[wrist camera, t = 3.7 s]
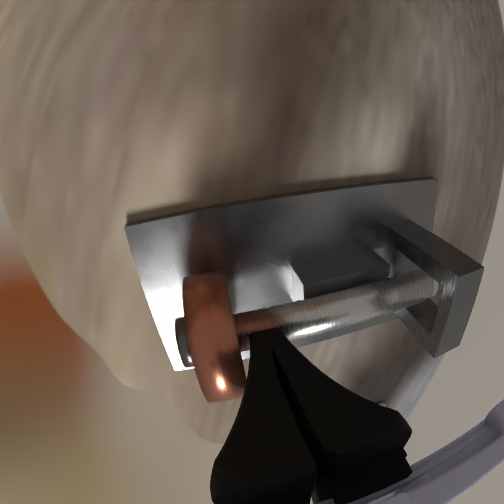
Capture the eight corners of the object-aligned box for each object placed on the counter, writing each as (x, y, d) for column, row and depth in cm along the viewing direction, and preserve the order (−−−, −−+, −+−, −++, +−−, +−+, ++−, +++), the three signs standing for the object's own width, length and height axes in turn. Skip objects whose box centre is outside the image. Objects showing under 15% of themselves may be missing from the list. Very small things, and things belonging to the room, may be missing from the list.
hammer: (401, 296, 19) (452, 350, 13) (194, 346, 17) (200, 429, 12) (411, 213, 16) (481, 256, 11) (168, 258, 15) (157, 337, 9)
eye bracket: (414, 306, 20) (467, 362, 14) (175, 365, 18) (176, 454, 12) (431, 177, 16) (514, 212, 10) (126, 223, 14) (84, 298, 8)
